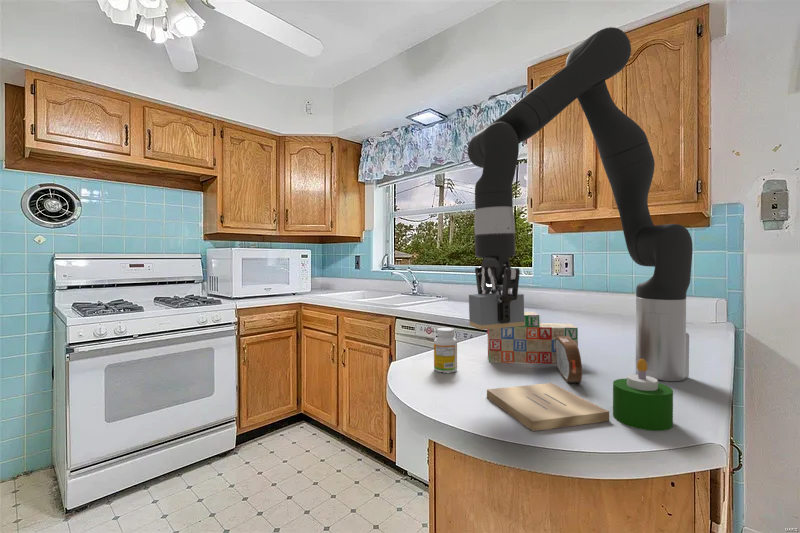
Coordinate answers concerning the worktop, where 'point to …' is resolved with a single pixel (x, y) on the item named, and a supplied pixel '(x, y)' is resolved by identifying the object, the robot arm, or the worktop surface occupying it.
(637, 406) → the candle
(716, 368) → the worktop surface
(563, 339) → the tin
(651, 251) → the robot arm
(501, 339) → the stack of blocks
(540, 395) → the board
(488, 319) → the block
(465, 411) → the worktop surface
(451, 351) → the supplement bottle
